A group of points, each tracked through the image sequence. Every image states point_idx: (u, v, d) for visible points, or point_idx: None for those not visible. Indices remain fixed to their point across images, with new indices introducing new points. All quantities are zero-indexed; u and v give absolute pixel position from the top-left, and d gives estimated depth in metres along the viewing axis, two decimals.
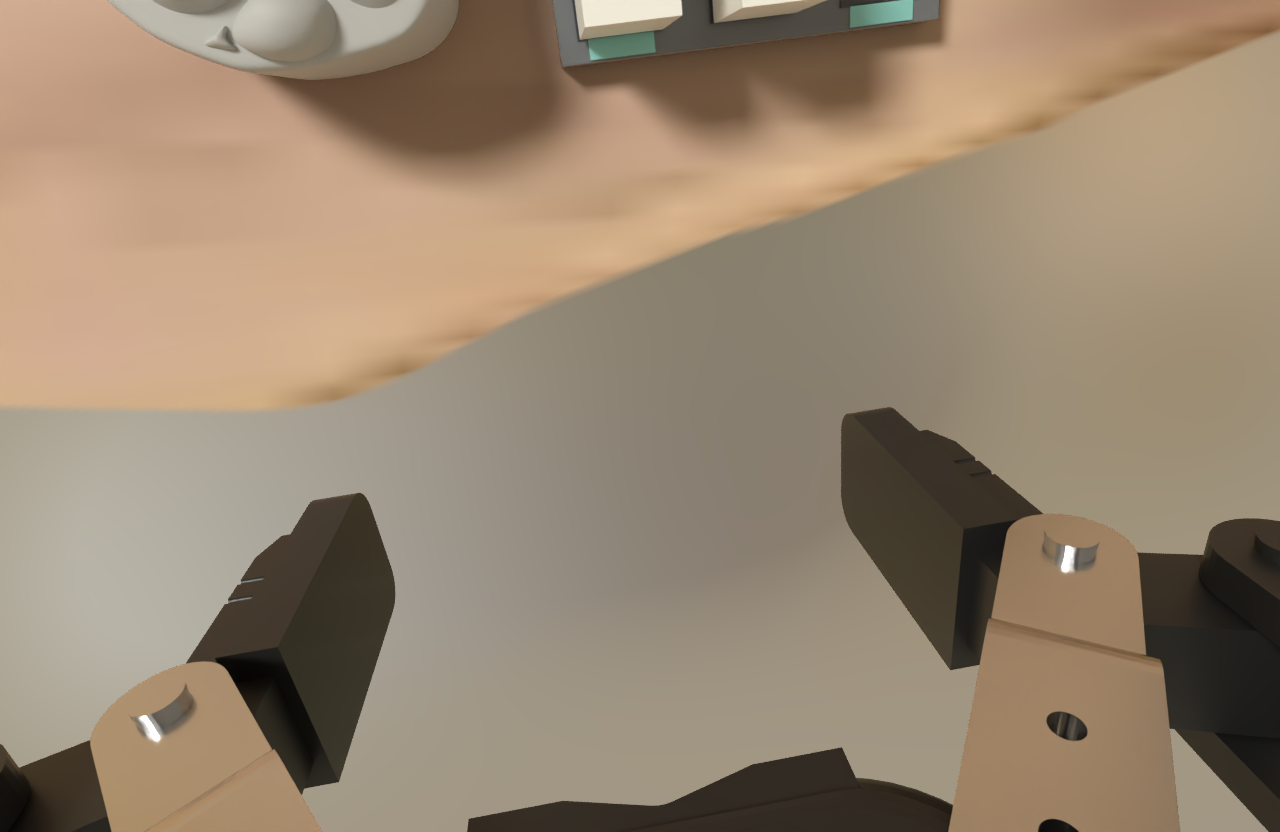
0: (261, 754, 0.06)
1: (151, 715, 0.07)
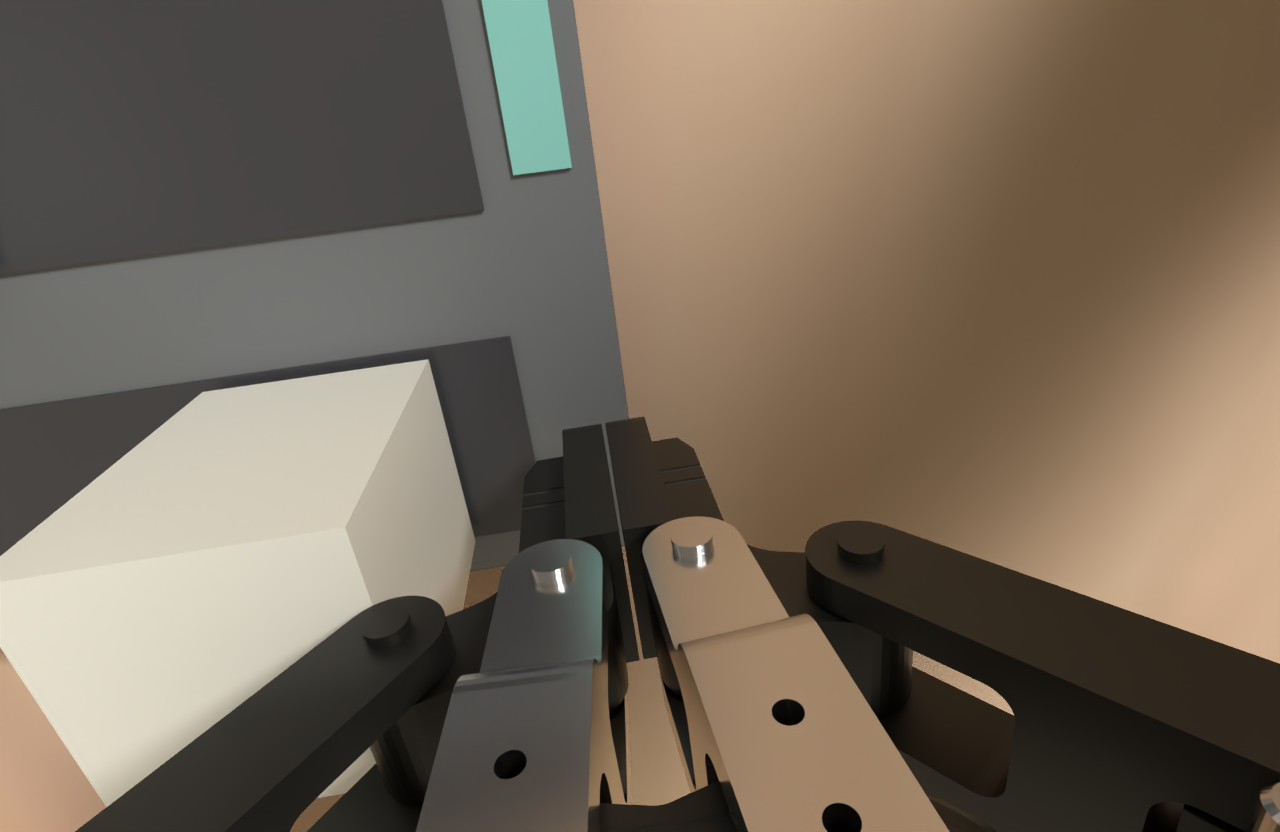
0: (592, 653, 0.07)
1: (540, 572, 0.08)
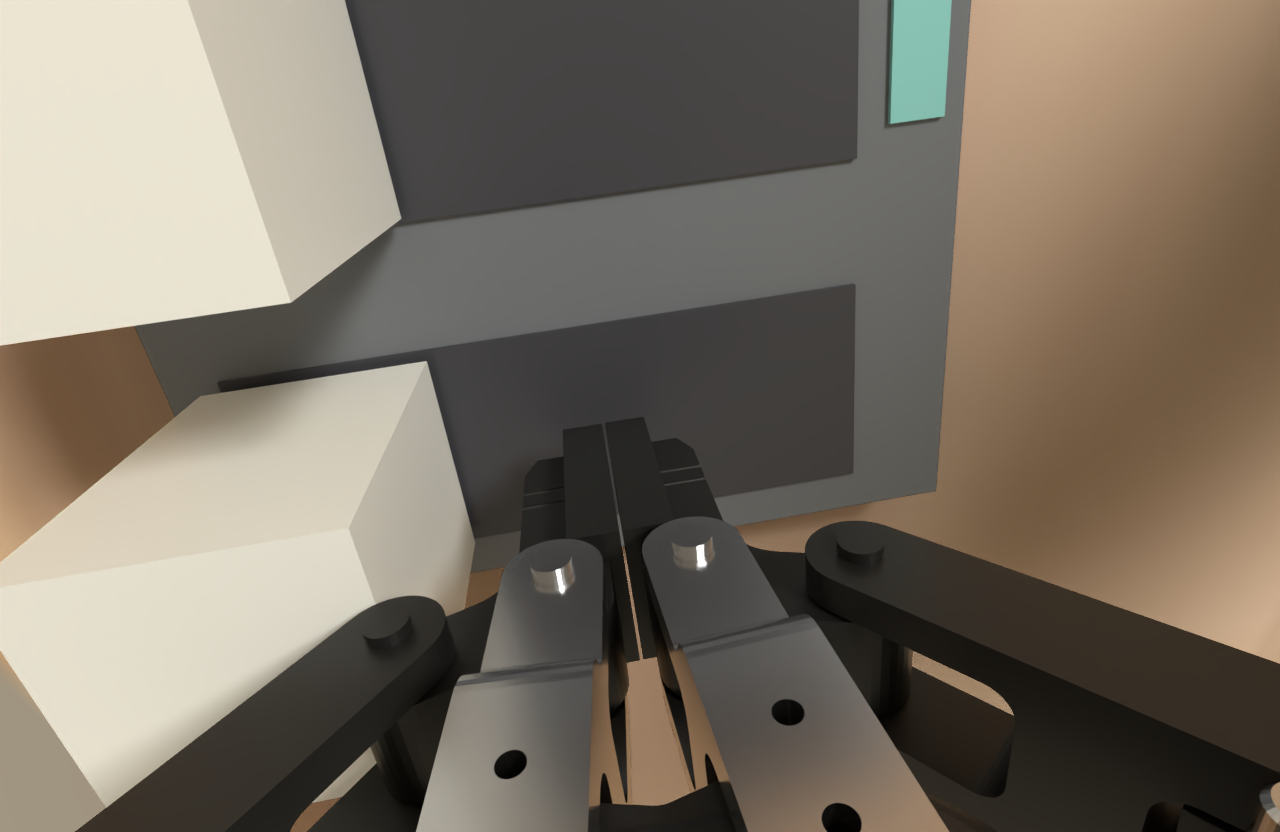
0: (592, 653, 0.07)
1: (541, 573, 0.08)
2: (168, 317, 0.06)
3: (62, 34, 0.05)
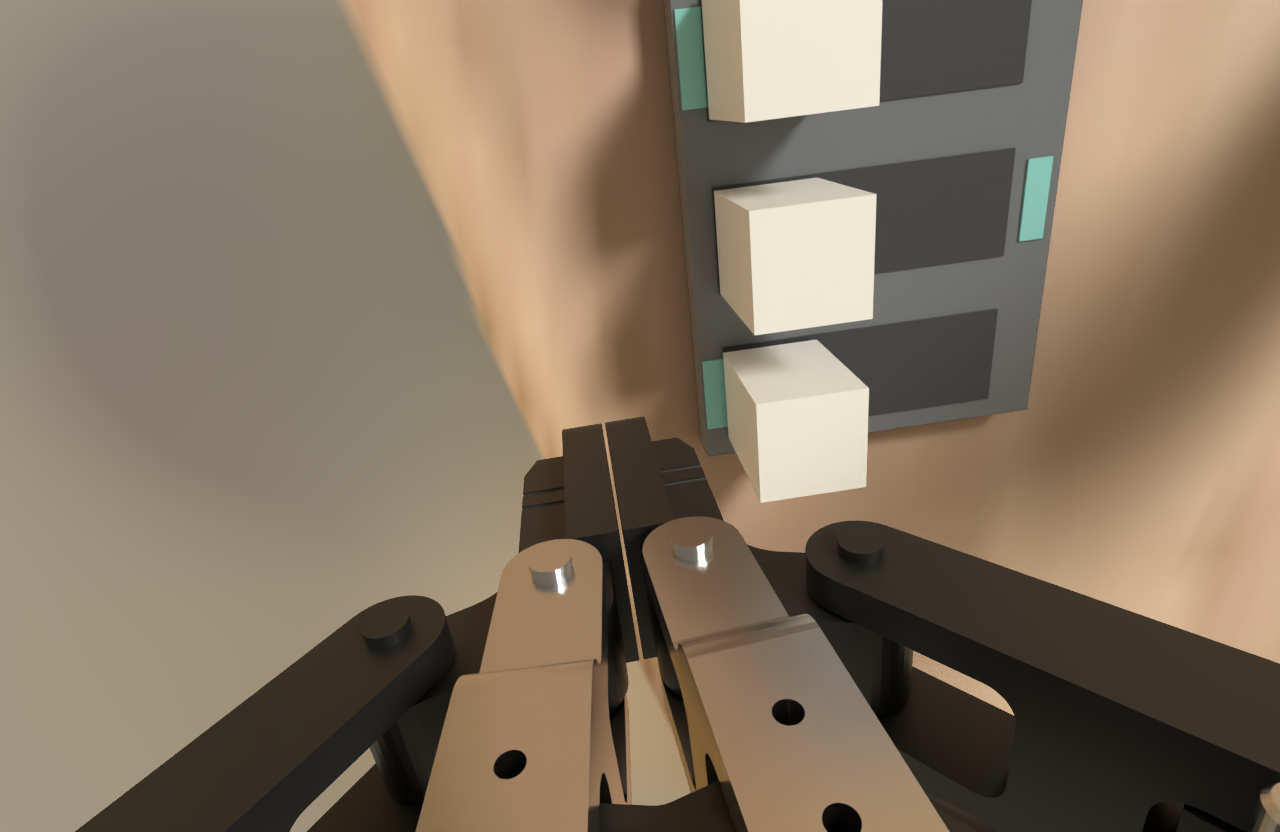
0: (592, 653, 0.07)
1: (540, 572, 0.08)
2: (840, 322, 0.23)
3: (843, 252, 0.22)
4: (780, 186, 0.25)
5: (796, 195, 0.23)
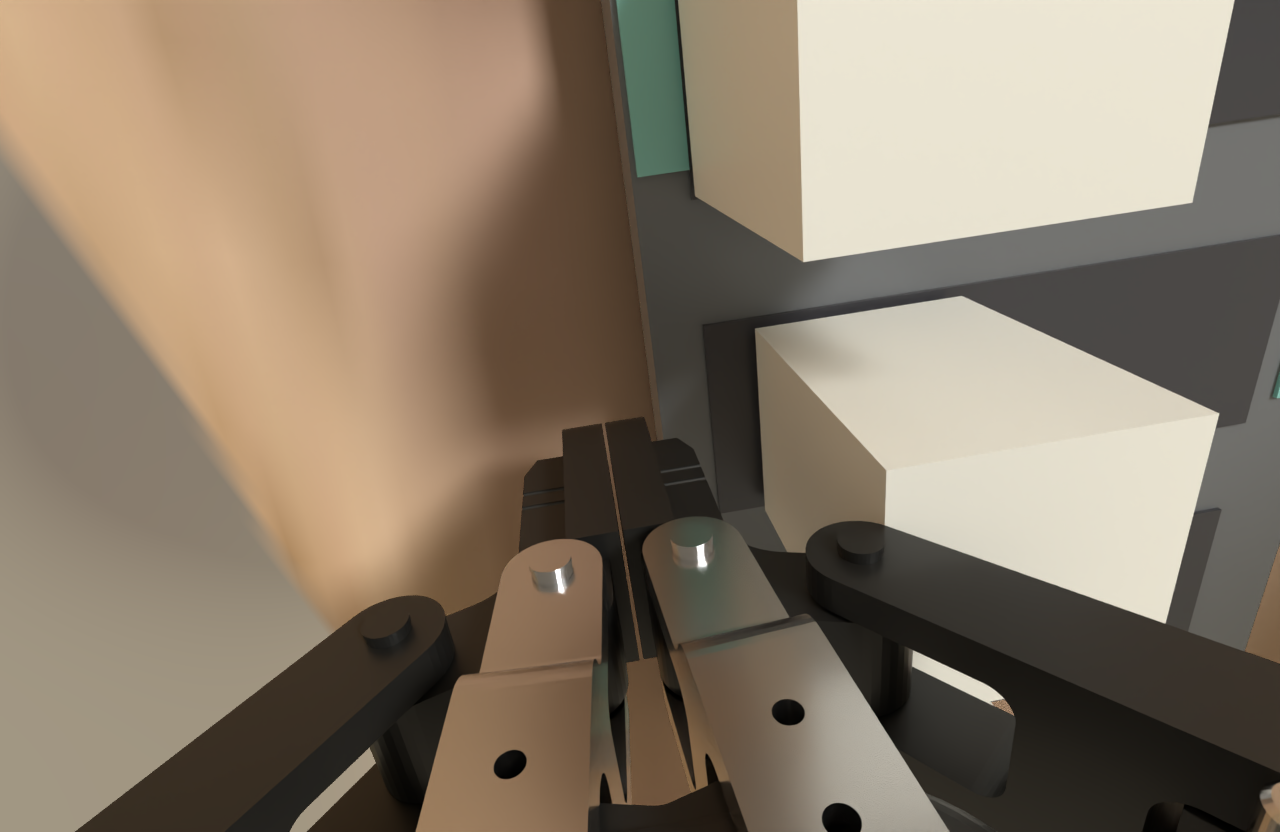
0: (592, 653, 0.07)
1: (540, 573, 0.08)
2: None
3: (1112, 546, 0.09)
4: (900, 327, 0.12)
5: (970, 383, 0.10)
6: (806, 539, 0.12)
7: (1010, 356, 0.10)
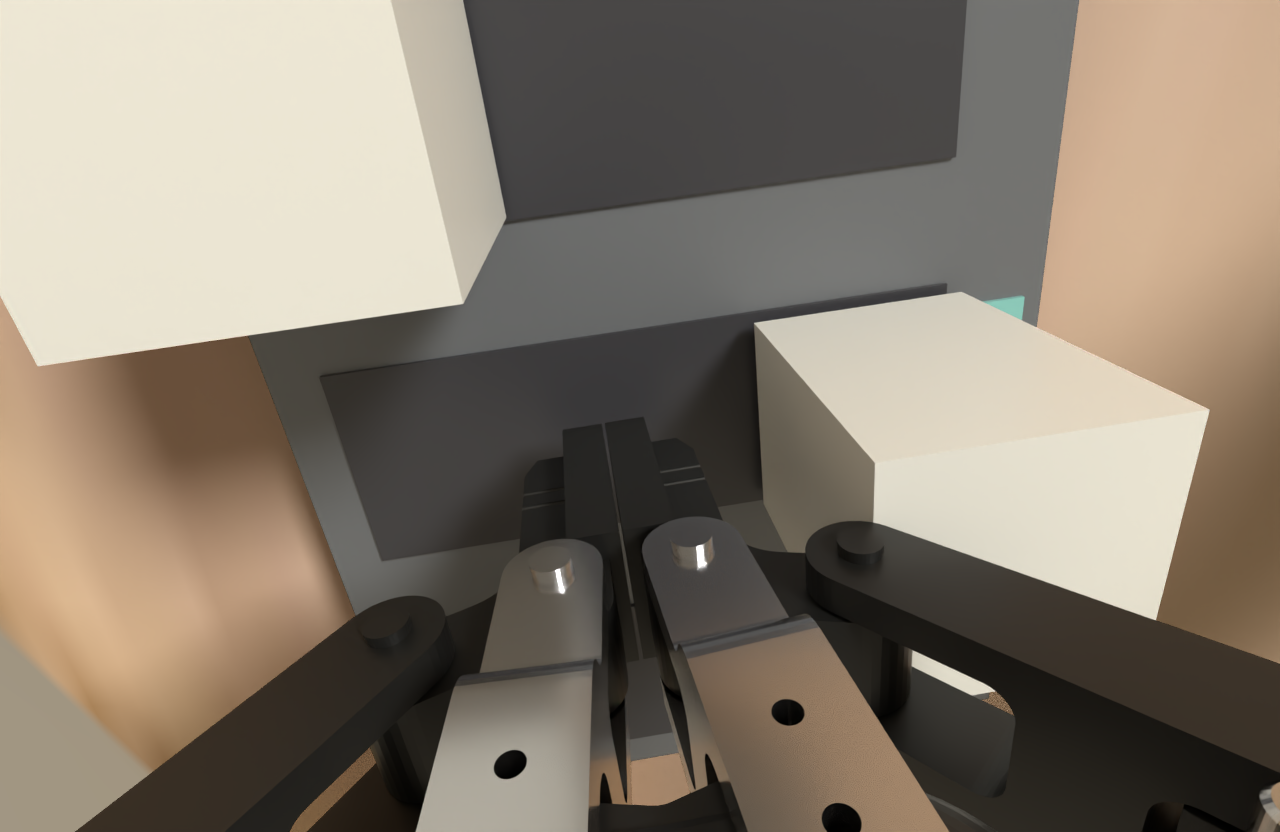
0: (592, 653, 0.07)
1: (541, 573, 0.08)
2: None
3: (1102, 541, 0.09)
4: (897, 322, 0.12)
5: (964, 378, 0.10)
6: (801, 532, 0.12)
7: (1005, 352, 0.10)
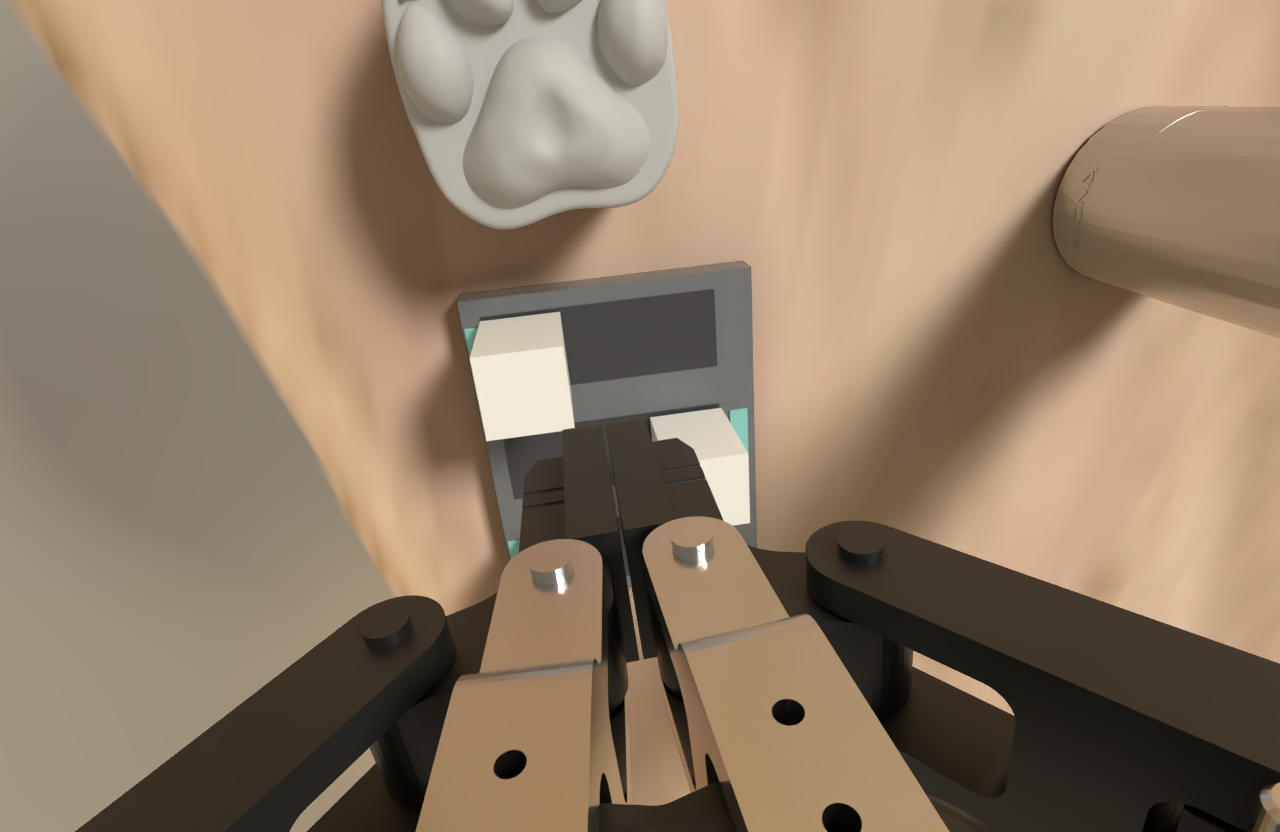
0: (592, 653, 0.07)
1: (540, 573, 0.08)
2: None
3: (729, 486, 0.34)
4: (694, 420, 0.37)
5: (700, 442, 0.34)
6: None
7: (716, 433, 0.35)
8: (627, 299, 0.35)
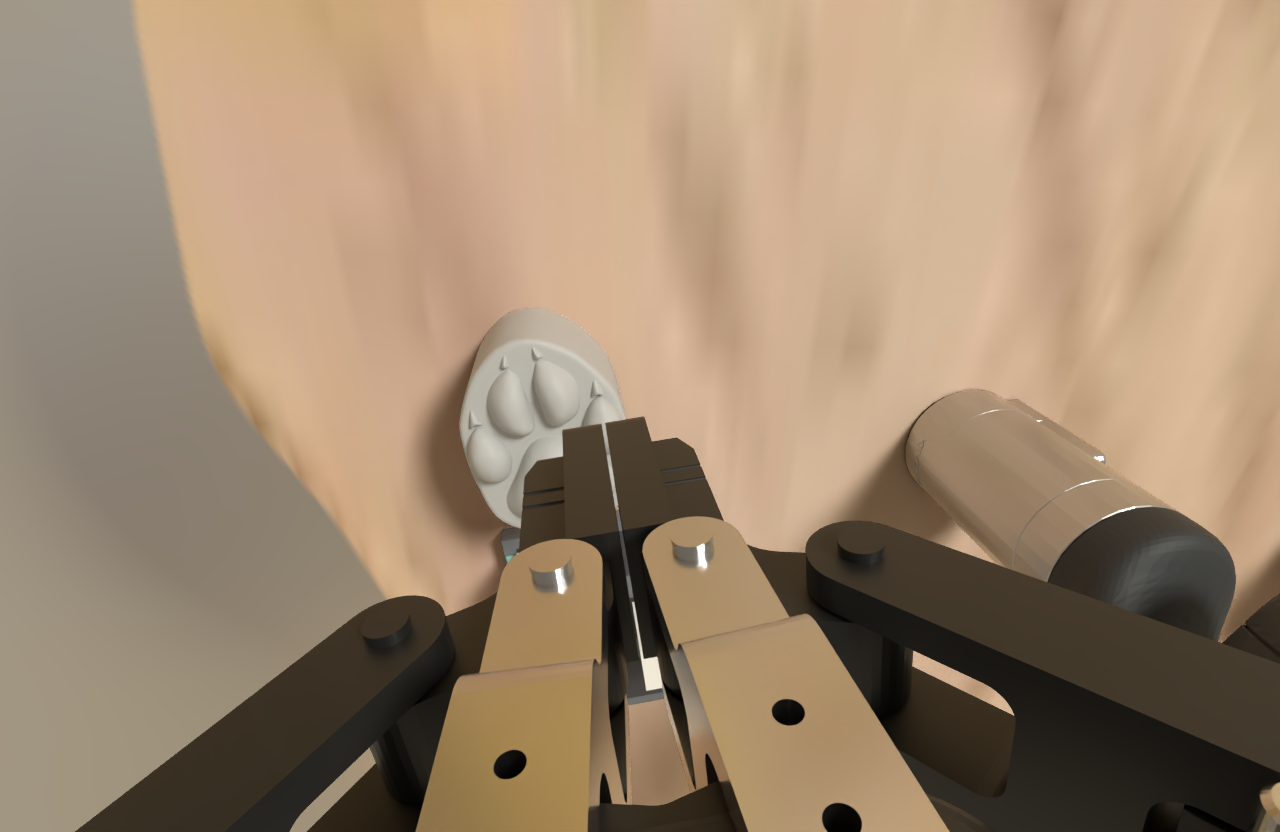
0: (592, 653, 0.07)
1: (540, 572, 0.08)
2: None
3: None
4: None
5: None
6: None
7: None
8: None
